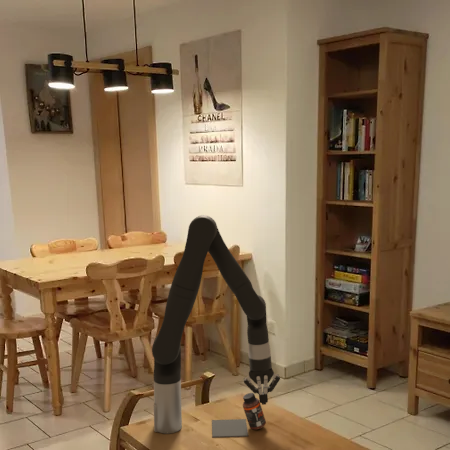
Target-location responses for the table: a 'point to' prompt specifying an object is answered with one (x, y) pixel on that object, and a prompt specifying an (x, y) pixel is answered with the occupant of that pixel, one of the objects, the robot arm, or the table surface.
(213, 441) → the table surface
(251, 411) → the supplement bottle
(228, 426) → the mat
